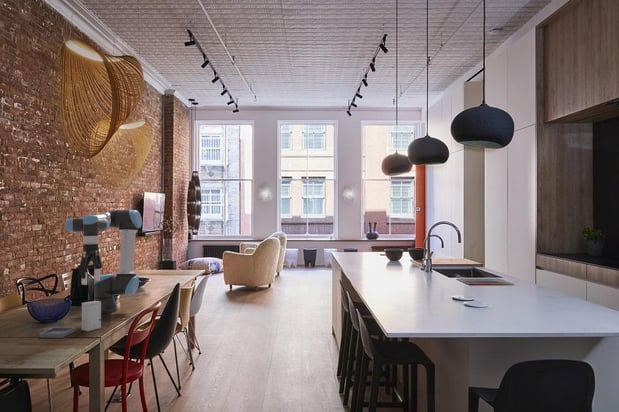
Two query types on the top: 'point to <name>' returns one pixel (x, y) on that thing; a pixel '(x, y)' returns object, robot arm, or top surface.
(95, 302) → the skincare box
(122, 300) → the top surface
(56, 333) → the tray
